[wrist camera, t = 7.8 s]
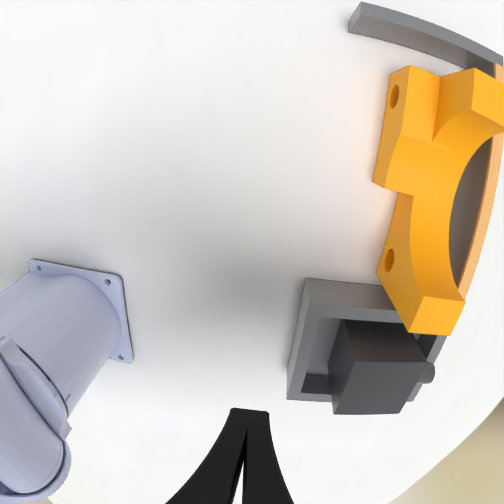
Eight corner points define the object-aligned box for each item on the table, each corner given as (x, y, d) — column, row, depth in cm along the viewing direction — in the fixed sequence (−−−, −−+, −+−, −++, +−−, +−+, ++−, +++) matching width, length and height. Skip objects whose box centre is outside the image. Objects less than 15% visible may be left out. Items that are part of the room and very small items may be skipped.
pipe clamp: (388, 75, 14) (440, 50, 8) (451, 98, 14) (516, 92, 8) (349, 268, 18) (375, 328, 12) (409, 278, 18) (449, 335, 12)
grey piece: (287, 370, 22) (285, 427, 17) (335, 18, 13) (354, -24, 8) (402, 375, 21) (421, 426, 16) (476, 63, 12) (529, 50, 7)
